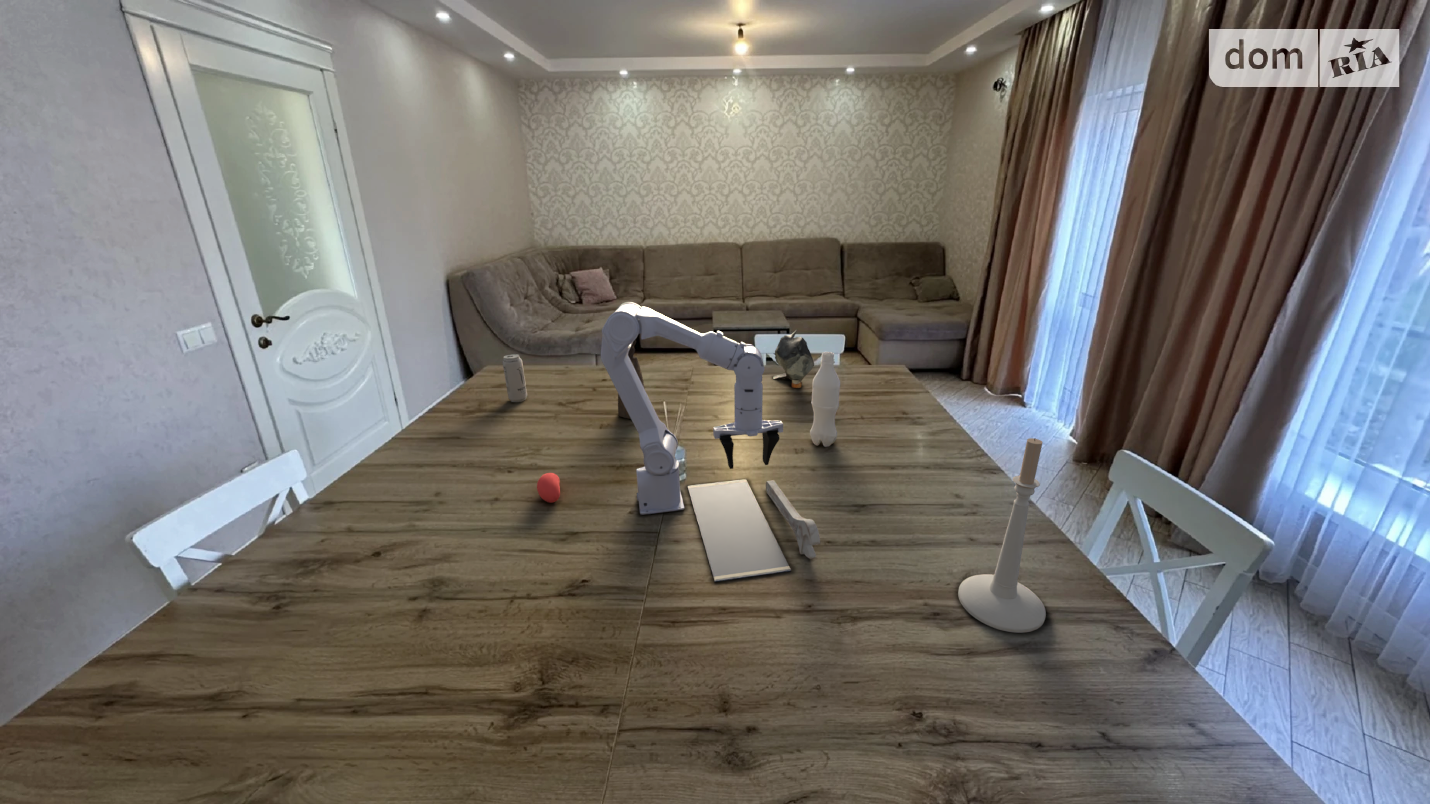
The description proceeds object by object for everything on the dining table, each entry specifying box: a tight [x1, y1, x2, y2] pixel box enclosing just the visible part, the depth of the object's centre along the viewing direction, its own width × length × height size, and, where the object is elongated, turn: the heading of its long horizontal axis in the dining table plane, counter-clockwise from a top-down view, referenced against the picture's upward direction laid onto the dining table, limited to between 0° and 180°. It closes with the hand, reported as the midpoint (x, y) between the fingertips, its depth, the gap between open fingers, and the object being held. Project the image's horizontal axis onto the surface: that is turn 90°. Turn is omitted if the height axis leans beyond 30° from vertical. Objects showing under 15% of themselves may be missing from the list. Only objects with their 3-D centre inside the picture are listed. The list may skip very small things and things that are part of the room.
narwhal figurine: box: [772, 329, 815, 389], centre depth 189 cm, size 14×15×18 cm
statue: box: [617, 339, 646, 420], centre depth 163 cm, size 9×8×25 cm
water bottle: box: [809, 351, 841, 448], centre depth 144 cm, size 7×7×25 cm
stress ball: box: [536, 472, 561, 504], centre depth 124 cm, size 5×9×6 cm, turn 4°
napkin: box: [687, 478, 792, 583], centre depth 113 cm, size 14×34×1 cm, turn 11°
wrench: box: [765, 479, 821, 560], centre depth 111 cm, size 8×2×30 cm
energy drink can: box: [502, 353, 528, 403], centre depth 180 cm, size 6×6×15 cm
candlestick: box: [957, 437, 1047, 634], centre depth 85 cm, size 13×13×30 cm
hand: (748, 464), depth 117 cm, fingers open, 7 cm apart
